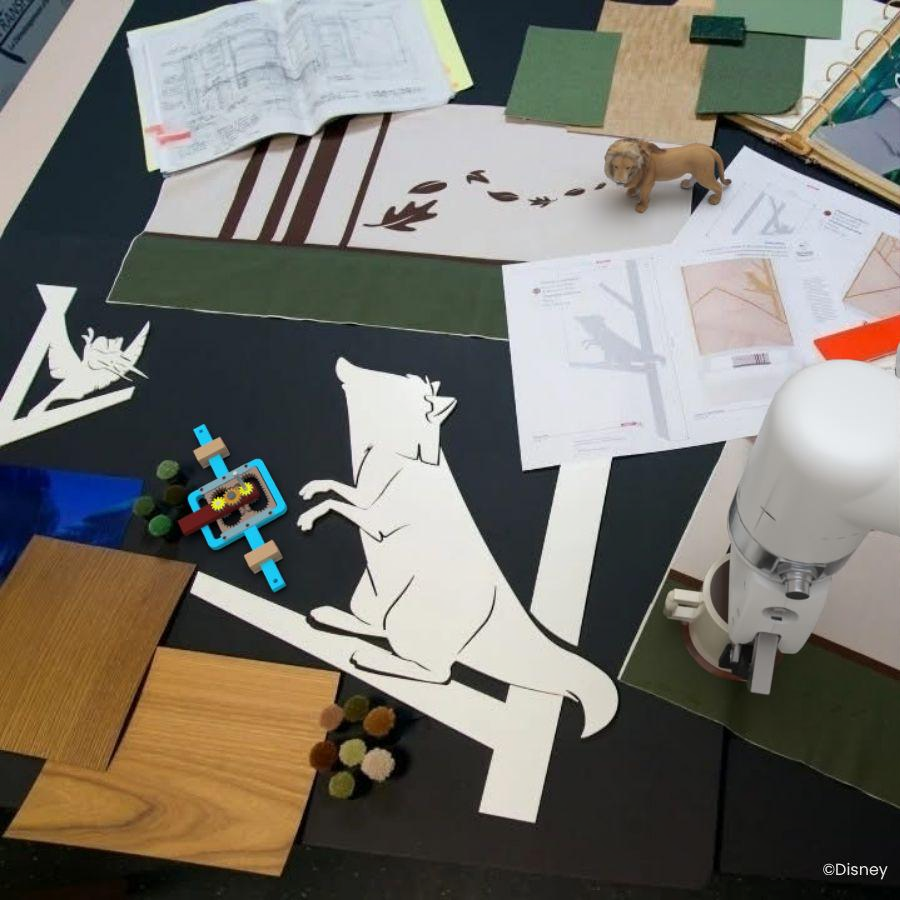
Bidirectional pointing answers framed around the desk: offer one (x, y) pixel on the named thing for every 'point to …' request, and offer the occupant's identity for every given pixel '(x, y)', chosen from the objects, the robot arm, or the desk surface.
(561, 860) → the desk surface
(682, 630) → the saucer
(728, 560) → the mug
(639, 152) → the lion figurine
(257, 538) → the gear mechanism
